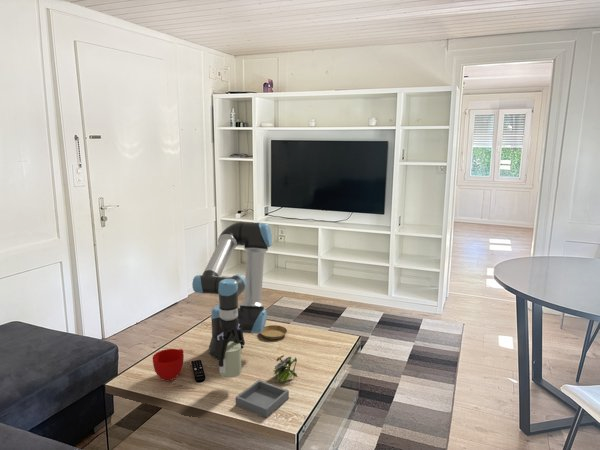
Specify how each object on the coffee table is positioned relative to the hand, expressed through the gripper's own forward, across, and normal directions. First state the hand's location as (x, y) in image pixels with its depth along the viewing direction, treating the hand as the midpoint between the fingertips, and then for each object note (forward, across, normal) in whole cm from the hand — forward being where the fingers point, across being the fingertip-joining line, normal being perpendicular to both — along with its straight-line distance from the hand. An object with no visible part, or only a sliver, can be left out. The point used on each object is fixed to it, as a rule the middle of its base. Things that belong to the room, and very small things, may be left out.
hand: (230, 367), depth 181 cm
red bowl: (+9, -7, +29) cm, 31 cm away
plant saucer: (+11, +51, +15) cm, 54 cm away
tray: (+9, -2, -18) cm, 20 cm away
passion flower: (+10, +19, -15) cm, 26 cm away
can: (+2, 0, 0) cm, 2 cm away
